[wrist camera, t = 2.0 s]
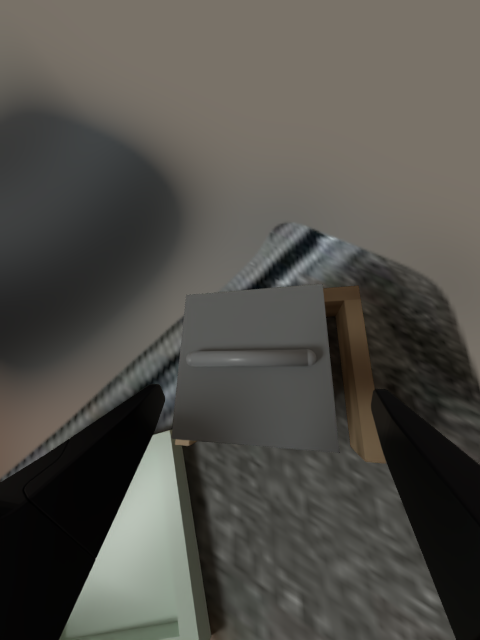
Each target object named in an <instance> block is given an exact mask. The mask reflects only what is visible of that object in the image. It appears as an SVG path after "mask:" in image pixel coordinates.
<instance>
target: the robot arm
mask: <svg viewBox="0 0 480 640" xmlns="http://www.w3.org/2000/svg"><path fill="white" fill-rule="evenodd" d="M164 403H165V396H164V393H163V391H162V389H161V386H160V385H159V384H150V385H148V386H147V387H145V388H144V389H142V390H141V391H139V392H138V393H137V394H135V395H134V396H132V397H131V398H129V399H128V400H126V401H125V402H123V403H122V404H120V405H119V406H117V407H116V408H114V409H113V410H111V411H110V412H108V413H107V414H105V415H104V416H102V417H101V418H99V419H98V420H96V421H95V422H93V423H92V424H90V425H89V426H88V427H86V428H85V429H83V430H82V431H80V432H79V433H77V434H76V435H74V436H73V437H71V438H70V439H68V440H67V441H65V442H64V443H62V444H61V445H59V446H58V447H56V448H55V449H53V450H52V451H50V452H49V453H47V454H46V455H44V456H43V457H41V458H39V459H38V460H36V461H34V462H33V463H31V464H30V465H28V466H26V467H25V468H23V469H21V470H20V471H18V472H17V473H15V474H13V475H12V476H10V477H8V478H7V479H5V480H3V481H2V482H0V640H59V639H60V637H61V635H62V632H63V630H64V628H65V626H66V624H67V621H68V619H69V617H70V615H71V613H72V611H73V608H74V606H75V604H76V602H77V600H78V597H79V595H80V593H81V591H82V589H83V587H84V584H85V582H86V580H87V578H88V576H89V574H90V571H91V569H92V567H93V565H94V563H95V560H96V559H95V558H97V556H98V554H99V551H100V549H101V547H102V545H103V543H104V541H105V538H106V536H107V534H108V532H109V530H110V527H111V525H112V523H113V521H114V519H115V517H116V514H117V512H118V510H119V508H120V506H121V504H122V501H123V499H124V497H125V495H126V493H127V490H128V488H129V486H130V484H131V482H132V480H133V477H134V475H135V473H136V471H137V469H138V466H139V464H140V462H141V460H142V458H143V456H144V453H145V451H146V449H147V447H148V445H149V443H150V440H151V438H152V436H153V433H154V431H155V428H156V425H157V423H158V420H159V417H160V414H161V411H162V408H163V405H164ZM371 411H372V415H373V418H374V422H375V426H376V430H377V433H378V437H379V441H380V444H381V448H382V451H383V454H384V457H385V460H386V462H387V465H388V467H389V470H390V472H391V475H392V478H393V480H394V483H395V485H396V488H397V490H398V493H399V495H400V498H401V500H402V503H403V506H404V508H405V511H406V513H407V516H408V518H409V521H410V523H411V526H412V528H413V531H414V533H415V536H416V539H417V541H418V544H419V546H420V549H421V551H422V554H423V556H424V559H425V561H426V564H427V567H428V569H429V572H430V574H431V577H432V579H433V582H434V584H435V587H436V589H437V592H438V595H439V597H440V600H441V602H442V605H443V607H444V610H445V612H446V615H447V617H448V620H449V623H450V625H451V628H452V630H453V633H454V635H455V638H456V640H480V465H479V464H478V463H477V462H475V461H474V460H473V459H472V458H471V457H469V456H468V455H467V454H466V453H464V452H463V451H462V450H461V449H459V448H458V447H457V446H456V445H455V444H453V443H452V442H451V441H450V440H448V439H447V438H446V437H445V436H443V435H442V434H441V433H440V432H439V431H437V430H436V429H435V428H434V427H432V426H431V425H430V424H429V423H427V422H426V421H425V420H424V419H423V418H421V417H420V416H419V415H418V414H416V413H415V412H414V411H413V410H411V409H410V408H409V407H408V406H407V405H405V404H404V403H403V402H402V401H400V400H399V399H398V398H397V397H395V396H394V395H393V394H392V393H391V392H389V391H388V390H386V389H374V390H373V394H372V400H371Z"/></svg>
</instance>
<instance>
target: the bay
mask: <svg viewBox="0 0 480 640" xmlns="http://www.w3.org/2000/svg"><path fill="white" fill-rule="evenodd" d="M323 293H324V303H325V313H326V317H335V316H336V324H337V333H338V342H339V350H340V359H341V368H342V376H343V385H344V394H345V403H346V411H347V420H348V429H349V437H350V446H351V447H352V448H353V449H354V450H355V451H356V452H357V453H358V455H359V456H360V457H361V458H362V459H363V460H364V461H365V462H375V463H386V460H385V457H384V454H383V451H382V448H381V444H380V441H379V437H378V433H377V430H376V426H375V422H374V418H373V415H372V411H371V400H372V394H373V390H374V389H375V388H374V382H373V376H372V369H371V363H370V356H369V350H368V343H367V337H366V331H365V324H364V318H363V311H362V305H361V298H360V292H359V286H348V287H335V288H323ZM195 442H197V441H190V440H178V439H176V440H175V445H184V446H190V445H191V444H193V443H195Z"/></svg>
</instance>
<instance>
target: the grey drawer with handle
mask: <svg viewBox="0 0 480 640" xmlns="http://www.w3.org/2000/svg"><path fill="white" fill-rule="evenodd" d="M171 439H178V440H190V441H202V442H214V443H227V444H239V445H251V446H263V447H275V448H287V449H299V450H311V451H323V452H335V453H340V452H339V442H338V432H337V422H336V412H335V402H334V392H333V383H332V373H331V363H330V353H329V343H328V333H327V323H326V313H325V303H324V293H323V284H314V285H302V286H290V287H278V288H266V289H254V290H242V291H230V292H218V293H206V294H193V295H186V302H185V312H184V321H183V331H182V340H181V350H180V360H179V369H178V379H177V388H176V398H175V408H174V417H173V427H172V437H171Z"/></svg>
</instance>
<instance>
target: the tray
mask: <svg viewBox="0 0 480 640" xmlns="http://www.w3.org/2000/svg"><path fill="white" fill-rule="evenodd" d="M171 437H172V430H168V431H165V432H162V433H158V434H155V435H153V436H152V438H151V440H150V443H149V445H148V447H147V449H146V451H145V453H144V456H143V458H142V460H141V462H140V464H139V466H138V469H137V471H136V473H135V475H134V477H133V480H132V482H131V484H130V486H129V488H128V490H127V493H126V495H125V497H124V499H123V501H122V504H121V506H120V508H119V510H118V512H117V514H116V517H115V519H114V521H113V523H112V525H111V527H110V530H109V532H108V534H107V536H106V538H105V541H104V543H103V545H102V547H101V549H100V551H99V554H98V556H97V558H95V559H96V560H95V563H94V565H93V567H92V569H91V571H90V574H89V576H88V578H87V580H86V582H85V584H84V587H83V589H82V591H81V593H80V595H79V597H78V600H77V602H76V604H75V606H74V608H73V611H72V613H71V615H70V617H69V619H68V621H67V624H66V626H65V628H64V630H63V632H62V635H61V637H60V639H59V640H210V638H211V631H210V624H209V618H208V611H207V605H206V598H205V592H204V585H203V579H202V572H201V566H200V559H199V553H198V546H197V540H196V533H195V527H194V520H193V514H192V507H191V501H190V494H189V488H188V481H187V475H186V468H185V462H184V455H183V449H182V445H175V440H176V439H171Z"/></svg>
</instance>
